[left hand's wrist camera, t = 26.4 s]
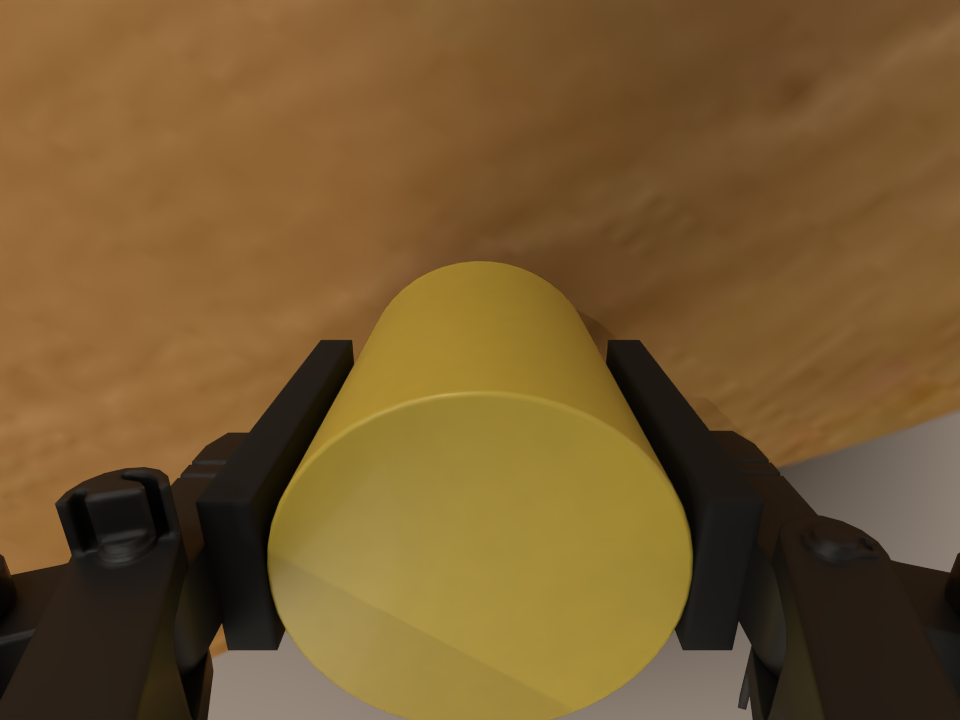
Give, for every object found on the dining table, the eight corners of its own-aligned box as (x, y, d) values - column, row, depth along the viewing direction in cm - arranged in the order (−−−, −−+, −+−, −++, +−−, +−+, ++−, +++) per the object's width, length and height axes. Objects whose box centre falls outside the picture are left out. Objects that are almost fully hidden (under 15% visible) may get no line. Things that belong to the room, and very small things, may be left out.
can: (468, 503, 17) (459, 781, 10) (321, 359, 16) (174, 565, 8) (636, 384, 16) (775, 604, 8) (494, 209, 14) (511, 294, 7)
